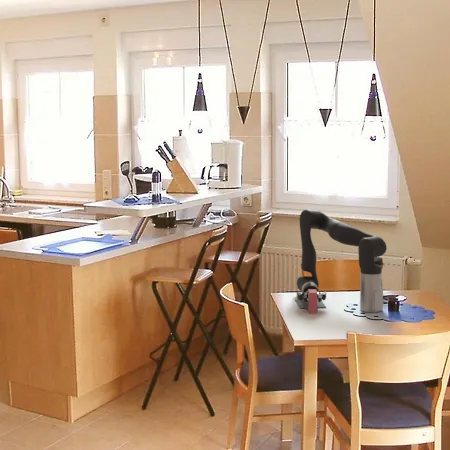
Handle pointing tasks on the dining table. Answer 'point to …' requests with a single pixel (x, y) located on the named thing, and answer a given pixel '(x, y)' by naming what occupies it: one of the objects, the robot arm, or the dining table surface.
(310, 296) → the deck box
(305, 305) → the mat
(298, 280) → the robot arm
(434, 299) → the dining table surface
